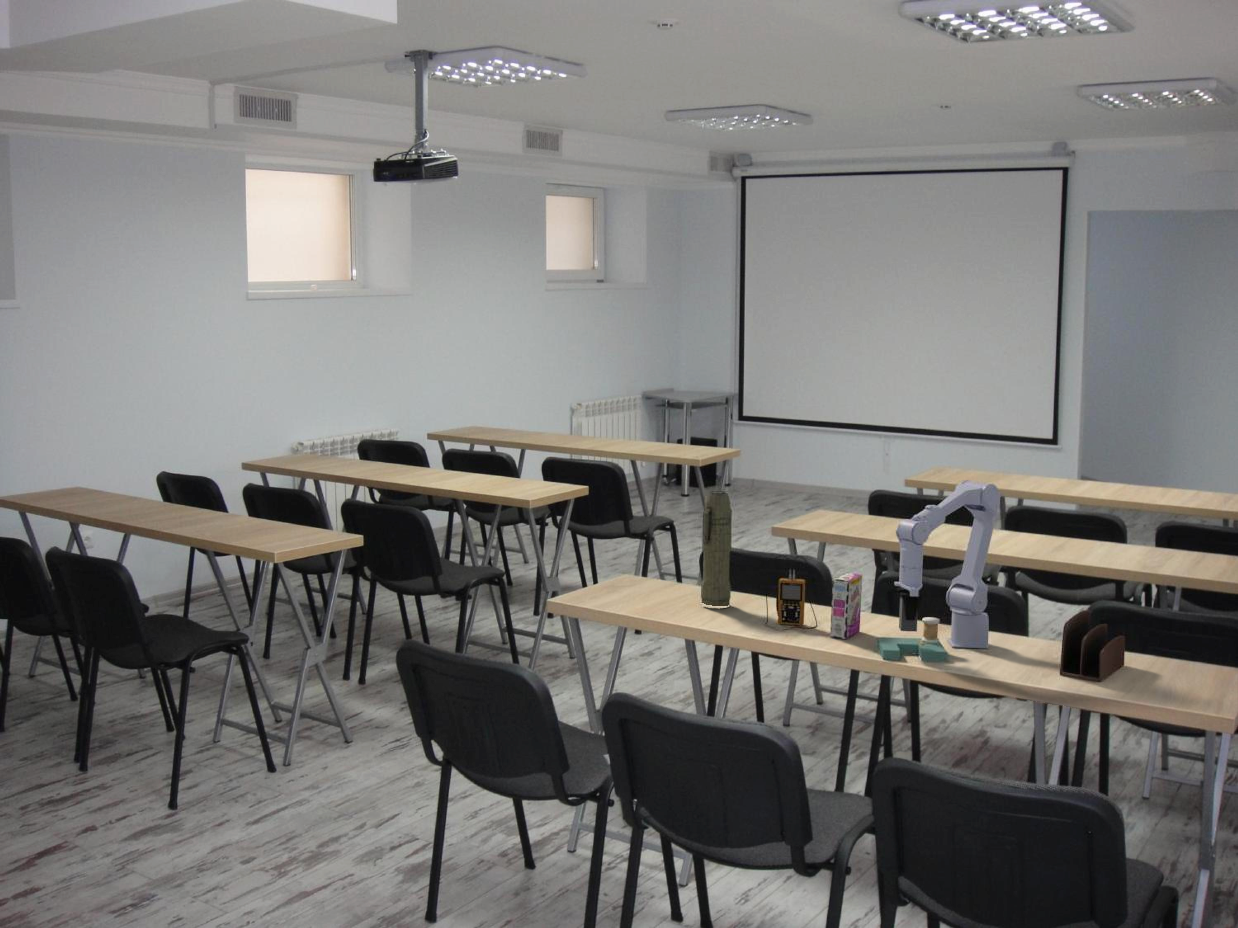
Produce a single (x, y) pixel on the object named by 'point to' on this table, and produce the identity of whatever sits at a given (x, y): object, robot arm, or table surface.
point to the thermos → (716, 549)
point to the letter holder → (1089, 650)
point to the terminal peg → (906, 624)
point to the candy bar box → (846, 605)
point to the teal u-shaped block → (915, 644)
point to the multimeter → (790, 600)
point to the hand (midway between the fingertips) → (909, 617)
